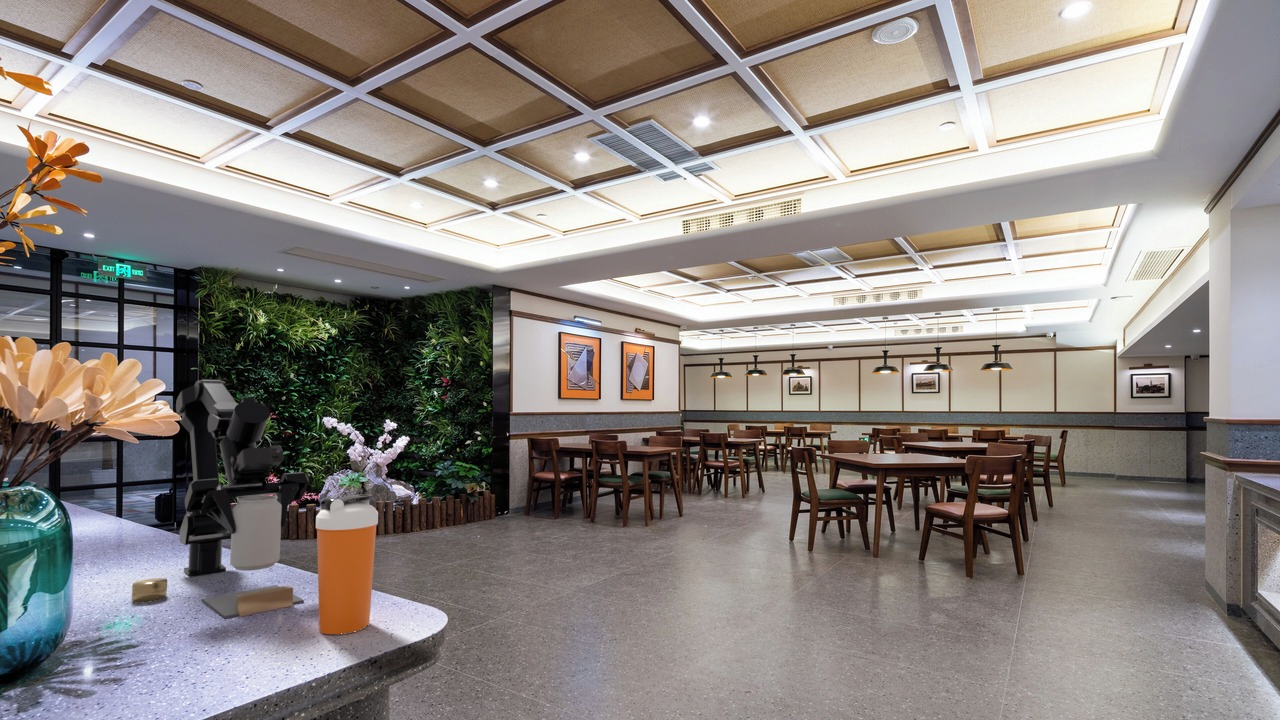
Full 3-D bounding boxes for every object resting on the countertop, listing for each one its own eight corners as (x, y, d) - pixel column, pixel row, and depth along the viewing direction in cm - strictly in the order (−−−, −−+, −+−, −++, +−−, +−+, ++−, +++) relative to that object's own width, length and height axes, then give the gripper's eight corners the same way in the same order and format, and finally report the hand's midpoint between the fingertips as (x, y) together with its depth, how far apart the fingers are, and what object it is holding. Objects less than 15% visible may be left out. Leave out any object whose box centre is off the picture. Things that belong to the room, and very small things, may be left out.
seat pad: (201, 600, 115) (201, 598, 115) (276, 587, 124) (276, 584, 124) (224, 618, 105) (224, 616, 105) (303, 602, 114) (303, 599, 114)
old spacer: (130, 598, 117) (131, 581, 117) (164, 593, 120) (165, 576, 120) (133, 605, 113) (133, 587, 113) (168, 599, 116) (169, 582, 117)
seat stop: (236, 613, 108) (236, 595, 108) (288, 603, 114) (288, 585, 114) (239, 616, 106) (240, 597, 107) (292, 605, 112) (293, 587, 112)
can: (284, 559, 119) (286, 493, 120) (273, 570, 112) (275, 499, 112) (238, 562, 117) (240, 494, 118) (223, 573, 110) (226, 500, 110)
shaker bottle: (387, 624, 102) (390, 495, 104) (333, 642, 95) (337, 502, 96) (354, 614, 107) (357, 491, 109) (300, 630, 100) (304, 497, 101)
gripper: (192, 432, 112) (207, 505, 103) (307, 429, 125) (328, 493, 117) (178, 475, 117) (191, 548, 108) (290, 467, 130) (310, 532, 122)
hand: (259, 528), depth 114 cm, fingers closed on can, 7 cm apart
